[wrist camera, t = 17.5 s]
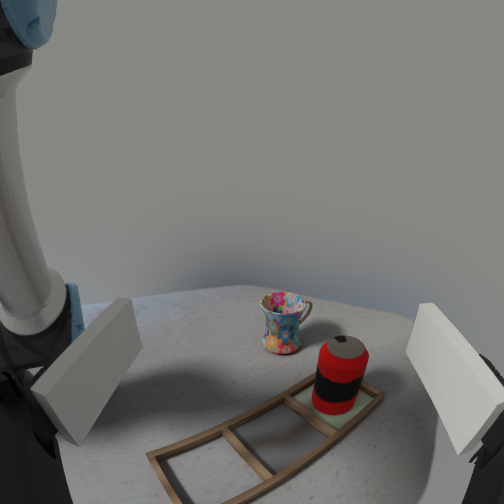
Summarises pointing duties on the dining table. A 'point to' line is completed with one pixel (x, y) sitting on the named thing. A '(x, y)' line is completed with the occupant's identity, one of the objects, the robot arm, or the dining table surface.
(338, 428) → the frame
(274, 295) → the mug
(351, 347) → the soda can
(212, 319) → the dining table surface
